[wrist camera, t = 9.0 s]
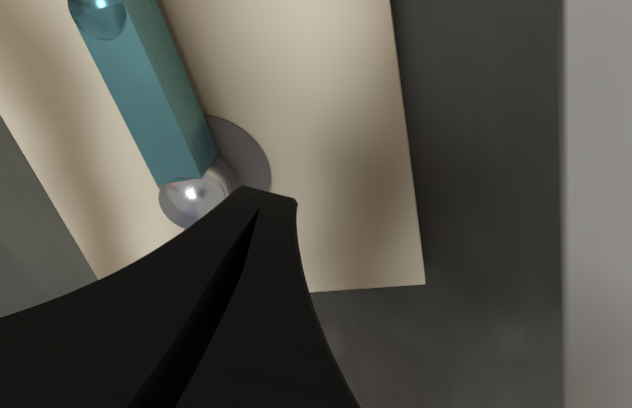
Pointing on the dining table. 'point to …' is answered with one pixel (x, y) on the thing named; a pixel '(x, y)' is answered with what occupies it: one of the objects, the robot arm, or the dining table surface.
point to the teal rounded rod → (156, 103)
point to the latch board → (231, 129)
